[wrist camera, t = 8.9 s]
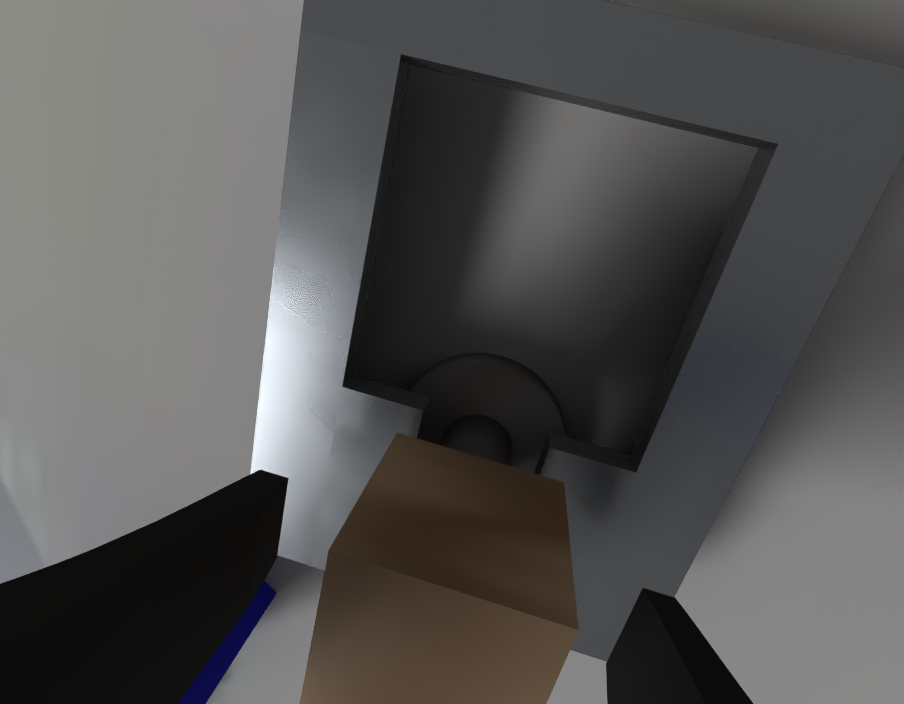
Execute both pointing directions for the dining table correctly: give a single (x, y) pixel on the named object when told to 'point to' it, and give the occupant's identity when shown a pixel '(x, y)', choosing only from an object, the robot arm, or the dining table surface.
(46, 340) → the dining table surface
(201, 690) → the blue curved bracket
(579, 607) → the notched window frame
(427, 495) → the peg
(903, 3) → the dining table surface
